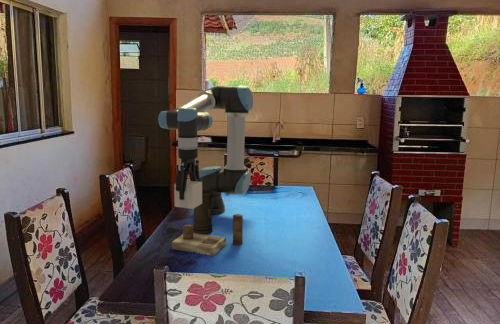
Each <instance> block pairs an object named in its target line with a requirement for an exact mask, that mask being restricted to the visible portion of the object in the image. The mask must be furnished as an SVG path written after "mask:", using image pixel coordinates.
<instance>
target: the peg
mask: <svg viewBox="0 0 500 324" xmlns="http://www.w3.org/2000/svg"><path fill="white" fill-rule="evenodd" d="M243 216H244V215H243V214H241V213H239V214H238V213H236V214H235V213H234V214H233V215H232V245H233V246H241V245H243V232H244V231H243V229H244V228H243V225H244V224H243V223H244V221H243V220H244V217H243Z"/></svg>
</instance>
